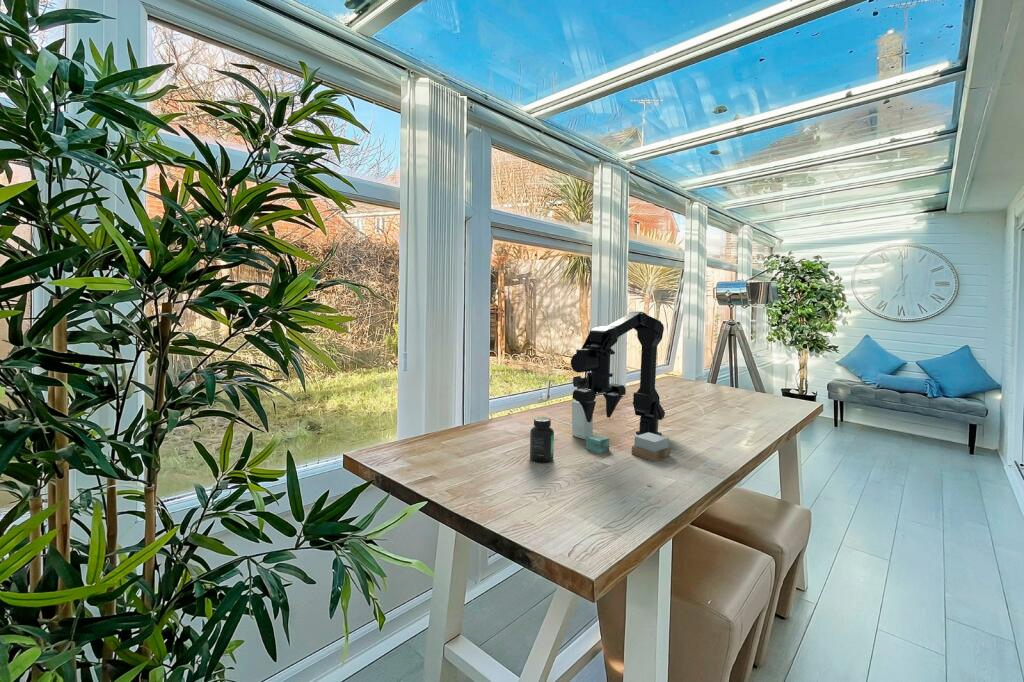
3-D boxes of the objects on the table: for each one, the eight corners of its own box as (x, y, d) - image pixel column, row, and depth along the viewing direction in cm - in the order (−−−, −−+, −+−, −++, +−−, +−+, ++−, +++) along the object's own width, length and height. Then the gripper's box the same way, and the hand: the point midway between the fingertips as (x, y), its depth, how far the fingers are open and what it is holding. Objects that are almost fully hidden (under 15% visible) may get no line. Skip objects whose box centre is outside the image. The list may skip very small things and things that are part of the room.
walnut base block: (647, 450, 143) (647, 441, 143) (670, 457, 137) (670, 447, 137) (631, 455, 138) (631, 446, 138) (654, 463, 132) (655, 453, 132)
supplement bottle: (558, 461, 131) (559, 420, 130) (538, 465, 128) (539, 423, 127) (544, 454, 137) (545, 414, 136) (525, 457, 134) (525, 417, 133)
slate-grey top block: (648, 441, 142) (648, 432, 142) (668, 447, 137) (668, 437, 137) (634, 445, 138) (634, 436, 138) (654, 452, 133) (654, 442, 132)
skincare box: (593, 437, 154) (594, 402, 153) (584, 440, 151) (585, 404, 150) (579, 433, 159) (580, 399, 158) (570, 435, 156) (571, 400, 155)
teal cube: (596, 446, 146) (597, 434, 145) (609, 450, 142) (609, 438, 141) (586, 449, 142) (586, 437, 142) (598, 453, 139) (598, 441, 138)
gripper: (599, 363, 152) (598, 410, 153) (559, 368, 140) (558, 418, 142) (627, 368, 143) (625, 417, 145) (587, 373, 131) (586, 427, 133)
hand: (598, 419), depth 141 cm, fingers open, 9 cm apart
